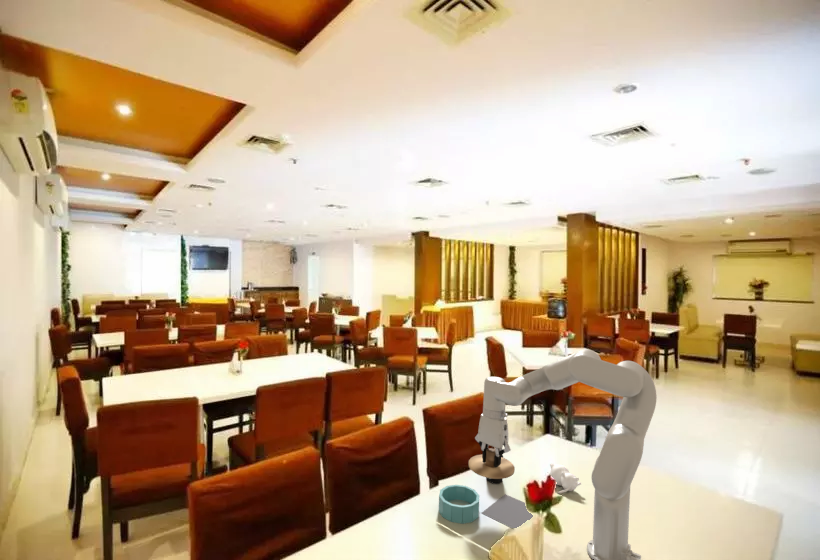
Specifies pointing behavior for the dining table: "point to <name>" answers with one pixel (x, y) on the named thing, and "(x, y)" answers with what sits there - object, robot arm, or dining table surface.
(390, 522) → the dining table surface
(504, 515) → the mat
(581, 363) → the robot arm
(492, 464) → the lid
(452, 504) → the bowl
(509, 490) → the dining table surface
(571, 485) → the cat figurine
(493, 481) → the beverage can
